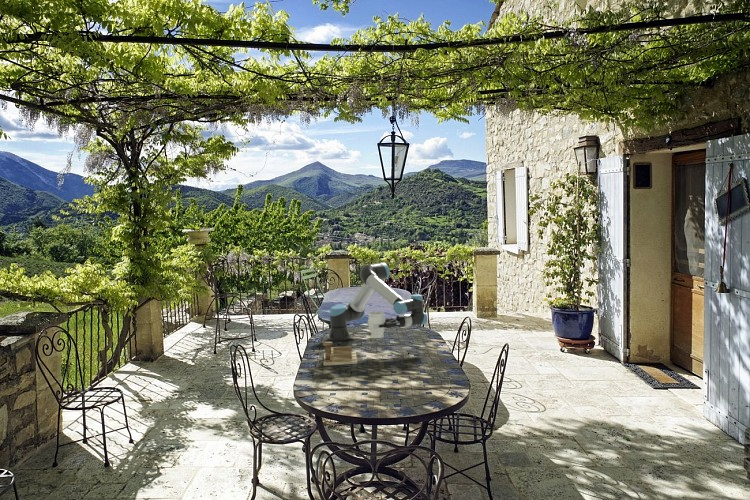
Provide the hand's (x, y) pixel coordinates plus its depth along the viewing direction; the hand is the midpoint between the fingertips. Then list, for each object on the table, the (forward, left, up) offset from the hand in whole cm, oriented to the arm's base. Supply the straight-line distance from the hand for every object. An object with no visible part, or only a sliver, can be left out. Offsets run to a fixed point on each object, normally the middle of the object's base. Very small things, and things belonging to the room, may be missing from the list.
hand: (370, 324), depth 327 cm
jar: (-1, +4, -8) cm, 9 cm away
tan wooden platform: (+3, -20, -20) cm, 28 cm away
